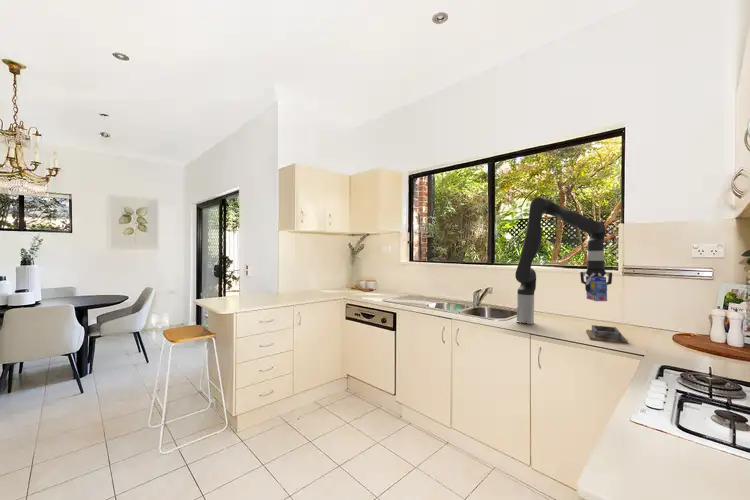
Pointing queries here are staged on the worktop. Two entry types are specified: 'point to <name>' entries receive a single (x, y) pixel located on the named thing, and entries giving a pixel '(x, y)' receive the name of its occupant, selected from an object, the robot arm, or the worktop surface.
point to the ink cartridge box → (597, 288)
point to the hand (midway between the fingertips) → (596, 292)
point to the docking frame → (606, 334)
